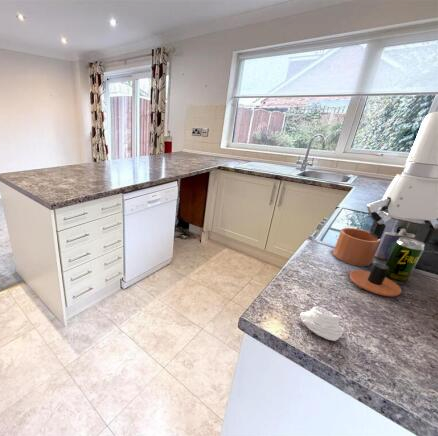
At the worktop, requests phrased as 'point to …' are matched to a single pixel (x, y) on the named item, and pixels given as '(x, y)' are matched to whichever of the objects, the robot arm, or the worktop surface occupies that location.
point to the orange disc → (376, 280)
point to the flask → (390, 243)
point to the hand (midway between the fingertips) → (397, 238)
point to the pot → (356, 246)
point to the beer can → (403, 259)
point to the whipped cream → (323, 323)
